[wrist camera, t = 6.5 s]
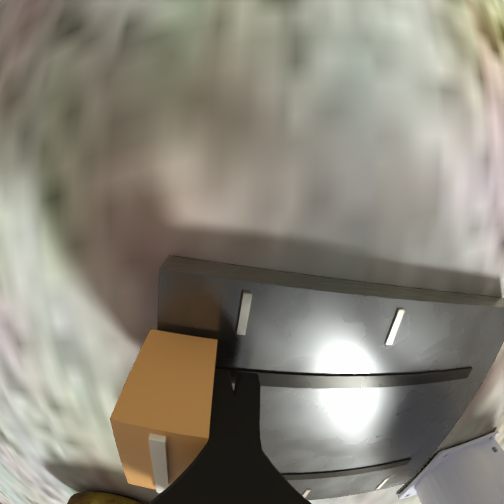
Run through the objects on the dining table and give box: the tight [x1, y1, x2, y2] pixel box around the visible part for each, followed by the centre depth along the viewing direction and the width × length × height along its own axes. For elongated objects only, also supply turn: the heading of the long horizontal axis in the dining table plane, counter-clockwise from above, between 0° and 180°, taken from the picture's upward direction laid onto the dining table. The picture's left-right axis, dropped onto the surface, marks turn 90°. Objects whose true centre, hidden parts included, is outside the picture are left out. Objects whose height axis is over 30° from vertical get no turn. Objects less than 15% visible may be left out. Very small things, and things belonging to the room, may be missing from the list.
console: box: [158, 255, 504, 500], centre depth 13 cm, size 18×16×2 cm
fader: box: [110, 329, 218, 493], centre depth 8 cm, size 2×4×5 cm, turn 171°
